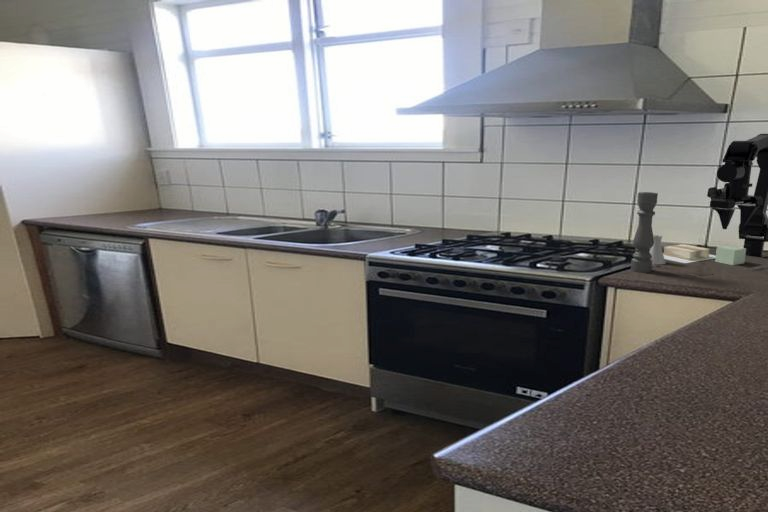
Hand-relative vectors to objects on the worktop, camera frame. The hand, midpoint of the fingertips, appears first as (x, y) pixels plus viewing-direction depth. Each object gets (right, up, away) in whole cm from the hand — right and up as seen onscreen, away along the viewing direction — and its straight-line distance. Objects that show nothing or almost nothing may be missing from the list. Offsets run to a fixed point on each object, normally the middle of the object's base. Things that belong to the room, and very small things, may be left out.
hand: (733, 227), depth 181 cm
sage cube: (0, -12, +3) cm, 13 cm away
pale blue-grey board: (-9, -10, +12) cm, 18 cm away
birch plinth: (-9, -9, +12) cm, 18 cm away
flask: (-24, -13, +4) cm, 27 cm away
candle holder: (-32, -14, -2) cm, 35 cm away
